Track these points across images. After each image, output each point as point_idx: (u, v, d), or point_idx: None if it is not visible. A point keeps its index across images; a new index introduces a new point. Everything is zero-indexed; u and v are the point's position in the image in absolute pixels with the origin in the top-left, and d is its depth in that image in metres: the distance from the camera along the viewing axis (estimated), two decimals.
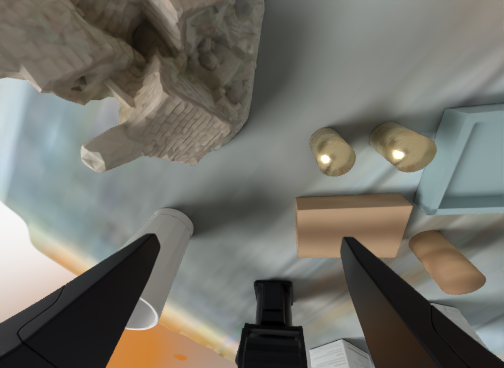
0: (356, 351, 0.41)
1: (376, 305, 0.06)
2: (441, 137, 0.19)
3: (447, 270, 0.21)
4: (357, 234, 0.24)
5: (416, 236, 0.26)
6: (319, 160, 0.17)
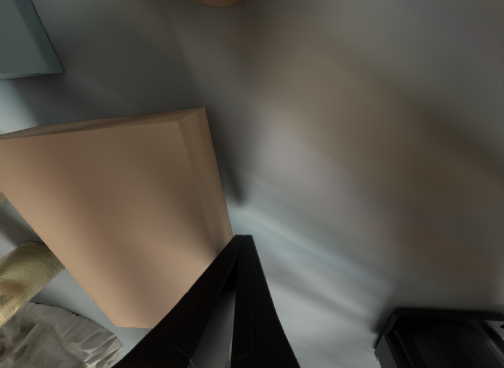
0: None
1: None
2: None
3: None
4: (126, 247, 0.09)
5: None
6: None
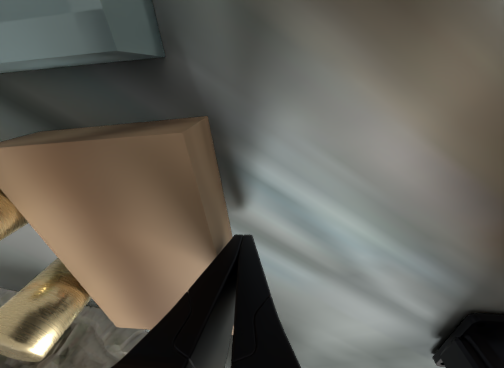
0: None
1: None
2: None
3: None
4: (129, 251, 0.09)
5: None
6: (25, 360, 0.10)
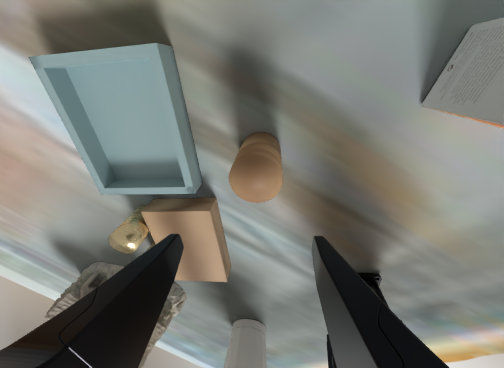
0: None
1: (334, 303, 0.06)
2: None
3: None
4: (186, 244, 0.24)
5: None
6: None
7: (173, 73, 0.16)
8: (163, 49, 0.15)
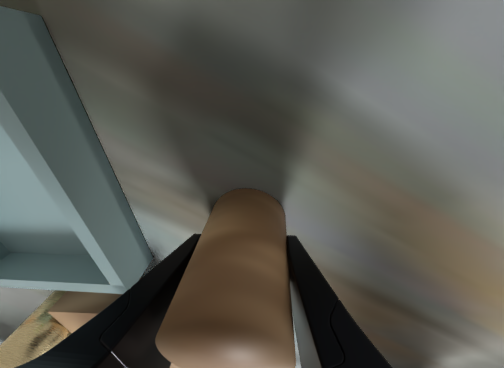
0: None
1: (297, 301, 0.07)
2: None
3: None
4: None
5: None
6: None
7: (45, 76, 0.07)
8: None
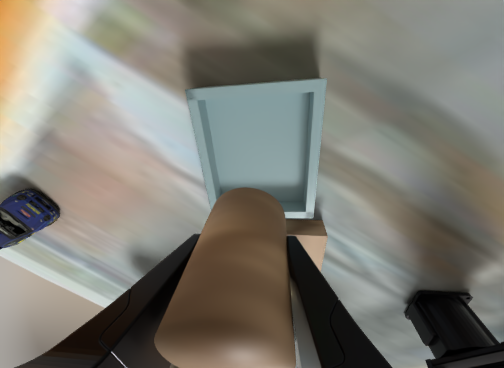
0: None
1: (297, 301, 0.07)
2: None
3: None
4: None
5: None
6: None
7: None
8: None
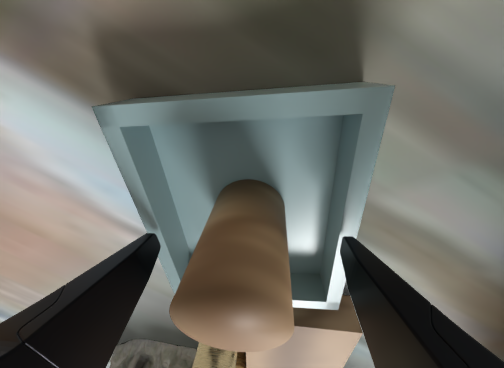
0: None
1: (376, 305, 0.06)
2: None
3: None
4: (294, 358, 0.16)
5: None
6: None
7: None
8: None
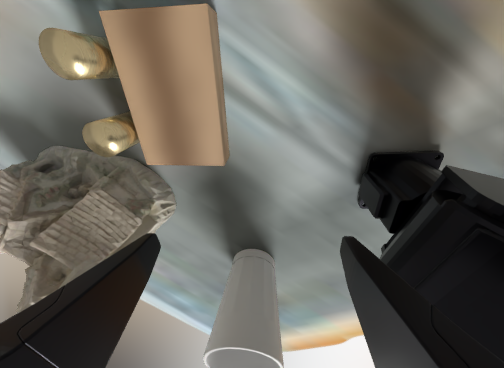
0: None
1: (376, 305, 0.06)
2: None
3: None
4: (168, 87, 0.16)
5: None
6: (106, 156, 0.17)
7: None
8: None
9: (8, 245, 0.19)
